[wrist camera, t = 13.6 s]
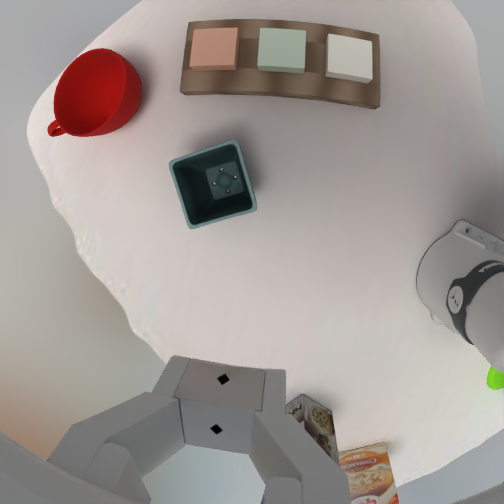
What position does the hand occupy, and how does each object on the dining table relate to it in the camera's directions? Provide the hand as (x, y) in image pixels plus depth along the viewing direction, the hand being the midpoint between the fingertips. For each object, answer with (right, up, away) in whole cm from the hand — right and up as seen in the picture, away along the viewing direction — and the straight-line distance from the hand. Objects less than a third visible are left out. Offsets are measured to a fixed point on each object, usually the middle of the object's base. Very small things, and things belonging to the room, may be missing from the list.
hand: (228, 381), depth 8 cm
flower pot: (-3, +14, +35) cm, 38 cm away
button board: (+5, +31, +29) cm, 43 cm away
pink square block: (-4, +32, +29) cm, 43 cm away
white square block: (+14, +30, +28) cm, 43 cm away
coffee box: (+12, -29, +46) cm, 56 cm away
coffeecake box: (+27, -47, +51) cm, 74 cm away
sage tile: (+5, +31, +28) cm, 42 cm away
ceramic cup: (-22, +27, +33) cm, 48 cm away
